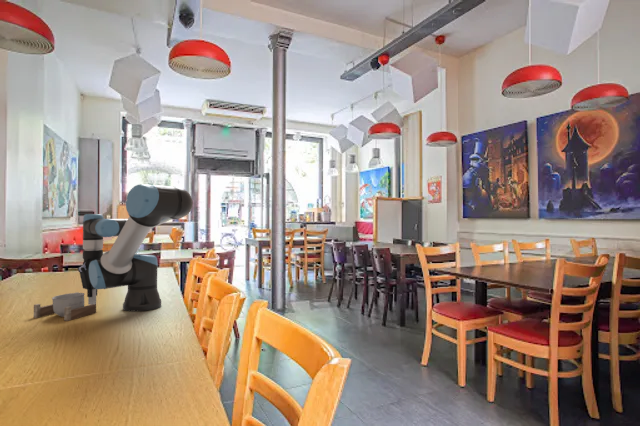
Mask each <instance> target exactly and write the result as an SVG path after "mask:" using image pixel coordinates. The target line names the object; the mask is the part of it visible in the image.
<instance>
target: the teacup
mask: <svg viewBox="0 0 640 426" xmlns="http://www.w3.org/2000/svg"><path fill="white" fill-rule="evenodd" d="M51 299H52V304H53V310H54V314H56V315H57V316H59V317H62V318H63V317H64V309H65V307H71V310H72V309H76V308H80V307H84V306H85V292H79V291H75V292H73V293H71V292H70V293H65V294H58V295H55V296H53V297H51Z"/></svg>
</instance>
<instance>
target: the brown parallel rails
mask: <svg viewBox="0 0 640 426" xmlns="http://www.w3.org/2000/svg"><path fill="white" fill-rule="evenodd" d="M96 313H97V303H96V304H91V305H90V304H88V305H84V307H80V308H76V309H72V310H71V307H65V309H64V320H63V321H64V322H68V321H72V320H75V319H79V318H82V317H86V316H90V315H93V314H96ZM54 314H55V313H54V310H53V303H52V304H49V305H44V306H41V303H36V304H33V318H35V319H37V318H42V317H45V316H49V315H54Z"/></svg>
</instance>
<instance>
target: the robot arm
mask: <svg viewBox="0 0 640 426" xmlns="http://www.w3.org/2000/svg"><path fill="white" fill-rule="evenodd" d="M193 204H194V203H193V198H192V196H191V195H190V193H189V192H188V191H187V190H186V189H184V188H182V187H180V186H169V185H157V184H156V185H155V184H151V183H146V184H144V183H143V184H140V183H139V184H136V185H134V186H133V187H131V189H130V190H129V192H128V193H127V195H126V201H125V208H126V212H127V214H128V218H104V215H103V214H101V213H100V214H99V213H98V214H97V213H94V214H93V213H88V214H87V213H86V214H84V215H83V217H82V219H83V220H82V249H83V250H82V259H83V262H82V265H81V266H78V267H77V271H78V272H79V276H80V282H81V285H82V289H84V290H87V291H86V293H87V295H86V297H87V298H88V300H87V301H88V302H87V303H88V305H91V304H96V305H97V296H98V290H107V289H114V288H119V287H125V286H127V292H126V295H125V298H124V302H123V303H122V310H123V311H125V312H144V311H151V310H156V309H159V308H161V307H162V299H161V297H160V293H159V291H158V266H159V264H158V258H157V256H156V255H152V254H140V253H137V252H138V251H139V248H140V247H141V246H142V244H143V242H144V240H145V239H146V237H147V236H148V234H149V232H150V231H151V229H154V228H155V227H158V226H160V225H162V224H164V223H166V222H169V221H171V220H179V219H182V218H184V217H187V215H189V213H190V212H191V211H192V209H193ZM111 237H112V238H113V237H116V239H115V241H114V243H113V244H112V246H111V247H110V249H109V250H107V251H105V252H104V250H103V248H104V238H111Z"/></svg>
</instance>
